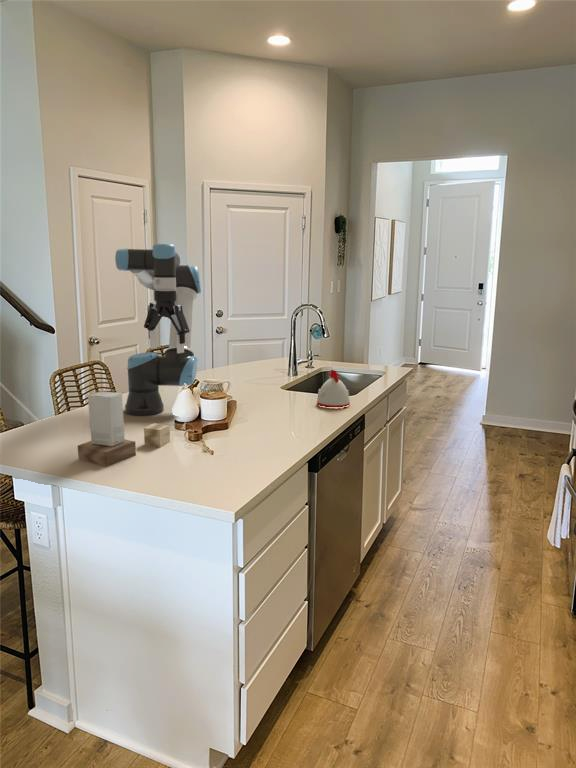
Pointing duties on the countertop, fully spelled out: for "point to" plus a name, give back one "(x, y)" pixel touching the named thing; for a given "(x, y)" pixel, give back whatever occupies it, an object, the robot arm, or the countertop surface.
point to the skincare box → (106, 418)
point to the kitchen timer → (333, 392)
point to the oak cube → (156, 435)
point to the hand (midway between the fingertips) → (166, 350)
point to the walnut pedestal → (106, 452)
